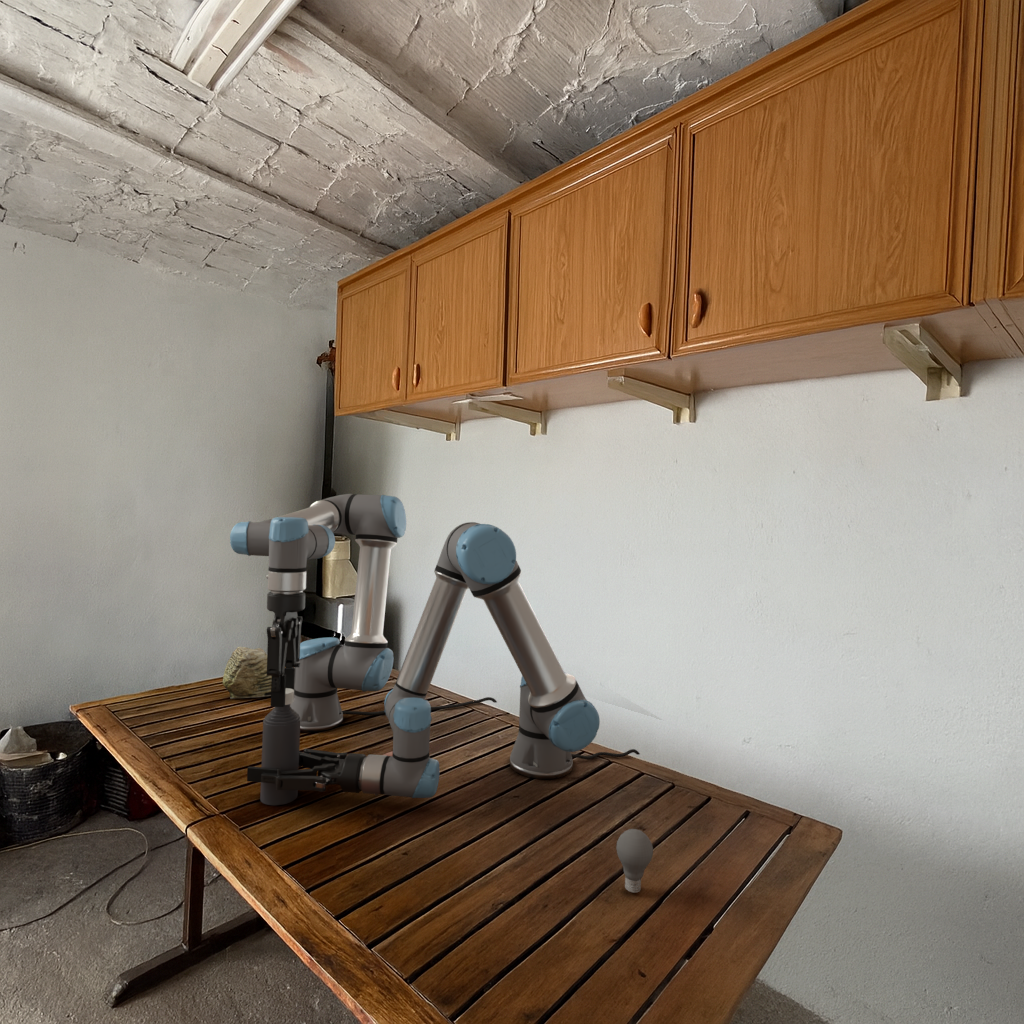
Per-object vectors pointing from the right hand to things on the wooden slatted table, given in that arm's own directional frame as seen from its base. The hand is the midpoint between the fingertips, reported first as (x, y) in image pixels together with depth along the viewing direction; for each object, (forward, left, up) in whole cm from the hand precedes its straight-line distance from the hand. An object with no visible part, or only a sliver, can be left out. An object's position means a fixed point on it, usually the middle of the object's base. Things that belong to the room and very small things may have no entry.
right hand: (257, 765), depth 133 cm
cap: (-4, +2, +16) cm, 17 cm away
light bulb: (-59, +52, -6) cm, 79 cm away
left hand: (-4, +2, +14) cm, 15 cm away
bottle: (-4, +2, -6) cm, 8 cm away
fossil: (+2, -70, -6) cm, 71 cm away
